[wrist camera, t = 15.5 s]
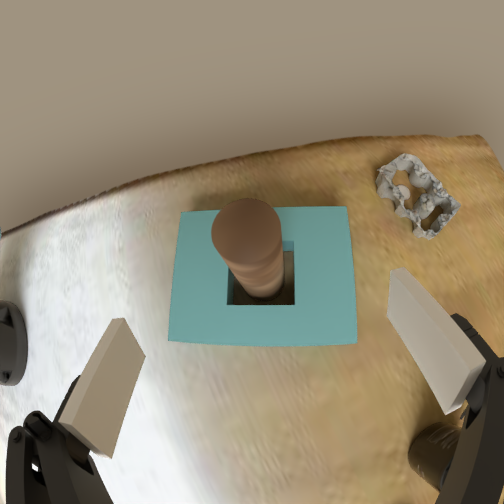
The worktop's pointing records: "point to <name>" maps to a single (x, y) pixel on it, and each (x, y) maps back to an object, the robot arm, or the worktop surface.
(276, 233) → the walnut pin
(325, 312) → the teal square-hole block
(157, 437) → the worktop surface
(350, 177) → the worktop surface
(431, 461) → the supplement bottle
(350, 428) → the worktop surface
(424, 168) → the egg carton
